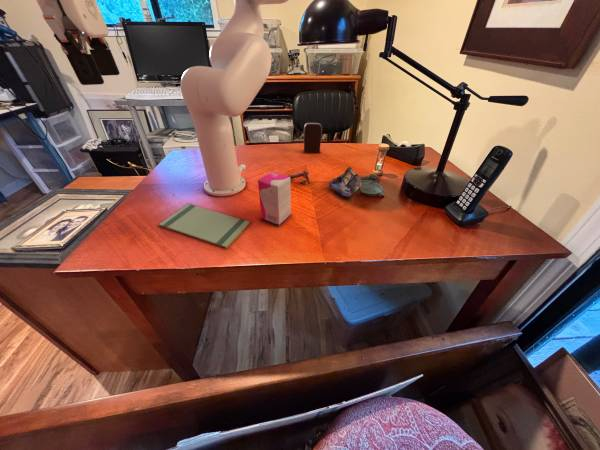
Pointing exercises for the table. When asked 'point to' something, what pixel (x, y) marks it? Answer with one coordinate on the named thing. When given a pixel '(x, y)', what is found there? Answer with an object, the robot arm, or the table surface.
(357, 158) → the table surface
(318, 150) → the battery charger
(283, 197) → the supplement box
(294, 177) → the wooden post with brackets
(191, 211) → the towel
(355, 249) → the table surface
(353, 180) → the snack package
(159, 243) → the table surface
